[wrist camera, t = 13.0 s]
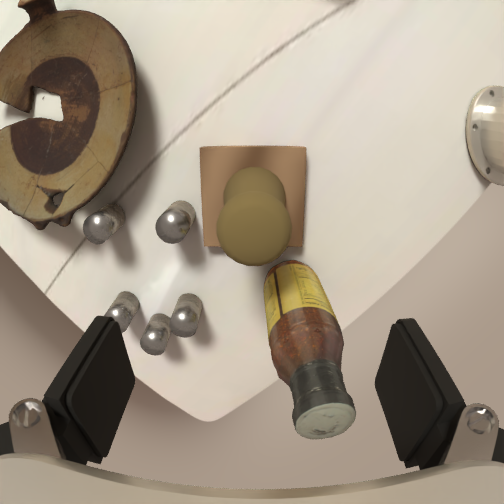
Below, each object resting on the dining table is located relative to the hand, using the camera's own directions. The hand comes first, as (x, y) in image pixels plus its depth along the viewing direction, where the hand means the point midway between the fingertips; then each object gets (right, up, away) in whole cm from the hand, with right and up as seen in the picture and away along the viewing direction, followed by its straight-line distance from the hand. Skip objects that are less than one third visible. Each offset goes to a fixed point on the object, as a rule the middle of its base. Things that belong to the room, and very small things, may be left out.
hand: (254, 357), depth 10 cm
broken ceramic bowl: (-21, +22, +17) cm, 34 cm away
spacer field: (-11, +1, +25) cm, 28 cm away
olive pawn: (0, +9, +21) cm, 22 cm away
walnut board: (0, +9, +22) cm, 24 cm away
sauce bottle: (+4, 0, +26) cm, 26 cm away
